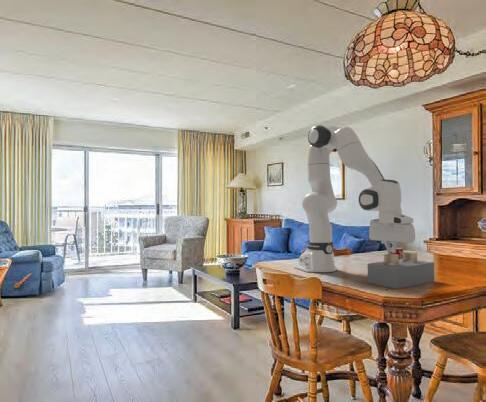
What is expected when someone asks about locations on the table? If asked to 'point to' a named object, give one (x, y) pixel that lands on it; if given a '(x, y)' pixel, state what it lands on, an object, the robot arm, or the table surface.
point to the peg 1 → (391, 259)
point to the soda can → (398, 252)
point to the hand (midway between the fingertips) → (391, 252)
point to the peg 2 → (410, 257)
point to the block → (401, 274)
